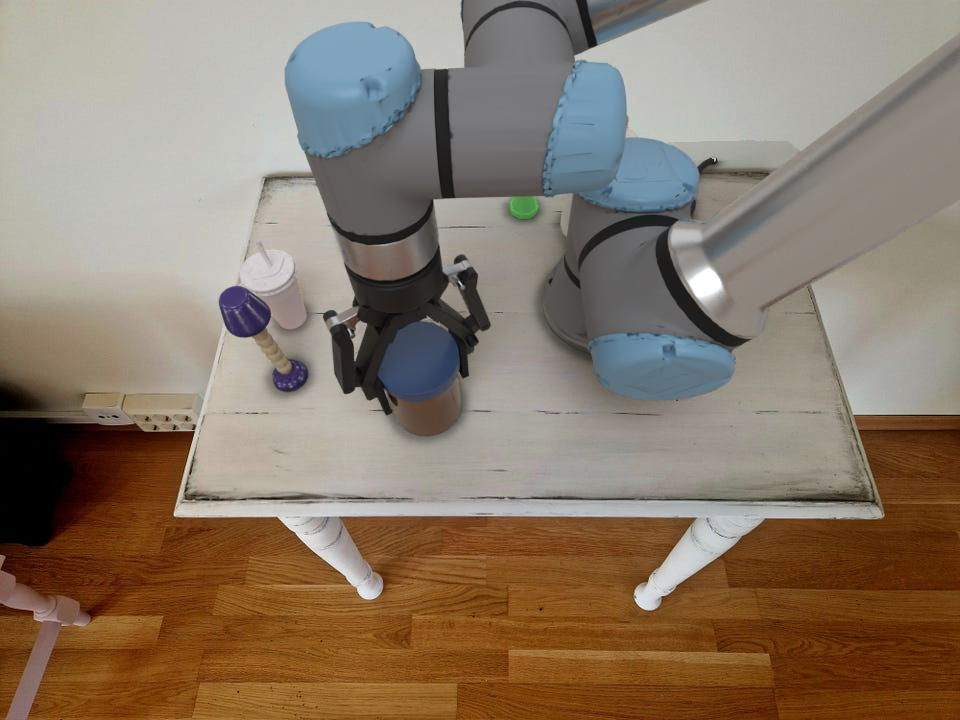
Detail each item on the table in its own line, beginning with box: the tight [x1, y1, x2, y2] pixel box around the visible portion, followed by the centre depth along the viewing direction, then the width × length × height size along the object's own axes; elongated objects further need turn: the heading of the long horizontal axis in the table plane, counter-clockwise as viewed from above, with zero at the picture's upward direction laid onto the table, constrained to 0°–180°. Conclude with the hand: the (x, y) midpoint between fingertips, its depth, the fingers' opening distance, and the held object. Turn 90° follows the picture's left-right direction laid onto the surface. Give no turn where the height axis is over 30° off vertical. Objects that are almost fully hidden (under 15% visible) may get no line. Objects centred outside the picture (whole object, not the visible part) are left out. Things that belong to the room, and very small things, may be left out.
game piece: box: [509, 196, 539, 220], centre depth 81 cm, size 4×4×6 cm
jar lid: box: [377, 320, 460, 402], centre depth 58 cm, size 9×9×2 cm
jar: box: [385, 374, 462, 437], centre depth 63 cm, size 8×8×10 cm
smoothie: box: [239, 238, 308, 330], centre depth 68 cm, size 6×6×14 cm
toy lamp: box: [218, 285, 309, 393], centre depth 62 cm, size 5×5×17 cm
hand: (423, 386), depth 63 cm, fingers closed on jar lid, 9 cm apart
